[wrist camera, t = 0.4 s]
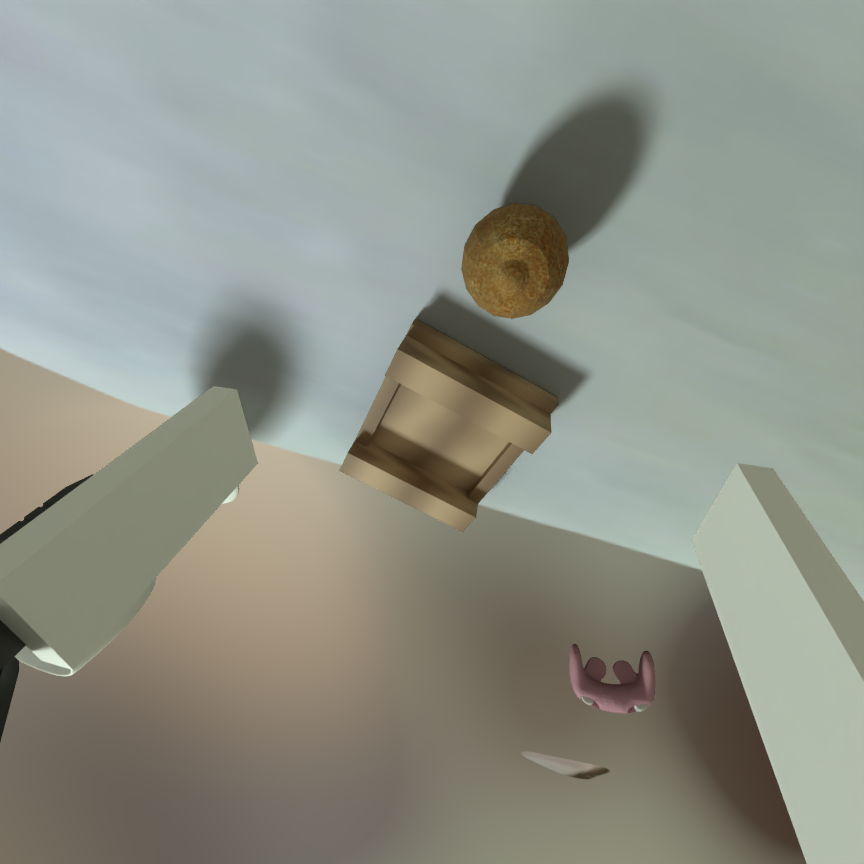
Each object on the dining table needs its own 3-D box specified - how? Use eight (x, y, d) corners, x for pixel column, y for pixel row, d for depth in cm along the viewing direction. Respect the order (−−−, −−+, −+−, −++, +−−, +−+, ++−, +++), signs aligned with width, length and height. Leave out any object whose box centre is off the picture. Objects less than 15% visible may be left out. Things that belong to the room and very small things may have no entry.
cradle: (350, 452, 42) (336, 477, 39) (415, 318, 32) (402, 337, 29) (463, 509, 43) (457, 537, 40) (557, 397, 34) (559, 423, 31)
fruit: (492, 308, 31) (481, 354, 24) (455, 224, 28) (431, 252, 22) (577, 270, 28) (590, 311, 22) (545, 174, 25) (548, 188, 19)
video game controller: (567, 644, 57) (570, 705, 53) (568, 642, 53) (571, 708, 49) (647, 652, 54) (655, 717, 51) (655, 651, 50) (664, 721, 47)
